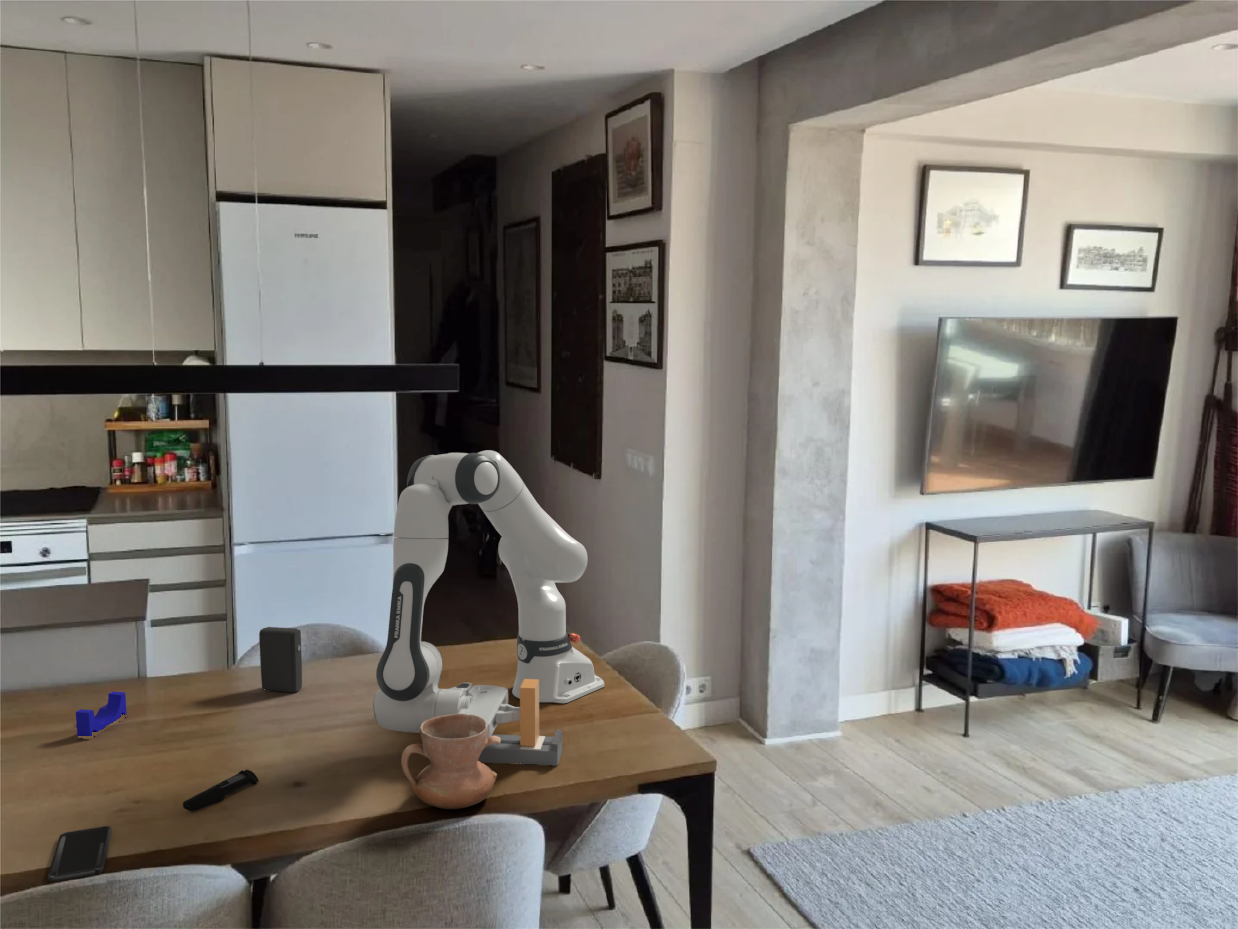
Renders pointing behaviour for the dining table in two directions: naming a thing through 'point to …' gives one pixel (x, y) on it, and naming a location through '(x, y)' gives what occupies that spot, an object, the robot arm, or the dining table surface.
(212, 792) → the electric trimmer
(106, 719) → the blue cradle holder
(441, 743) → the ceramic jug
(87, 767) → the dining table surface
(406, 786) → the dining table surface
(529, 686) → the switch tab
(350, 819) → the dining table surface
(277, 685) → the dark grey upright block
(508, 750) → the switch track
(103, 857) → the phone
